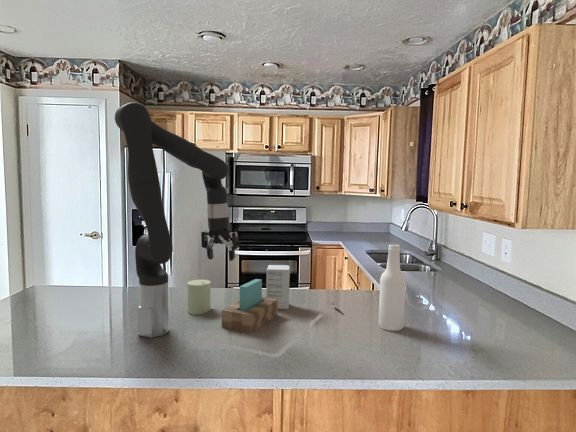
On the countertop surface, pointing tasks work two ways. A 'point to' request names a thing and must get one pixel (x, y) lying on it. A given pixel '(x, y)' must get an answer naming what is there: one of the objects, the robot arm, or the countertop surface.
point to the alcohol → (392, 293)
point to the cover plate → (250, 294)
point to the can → (199, 296)
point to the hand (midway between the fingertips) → (221, 259)
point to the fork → (334, 307)
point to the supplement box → (278, 284)
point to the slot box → (249, 315)
